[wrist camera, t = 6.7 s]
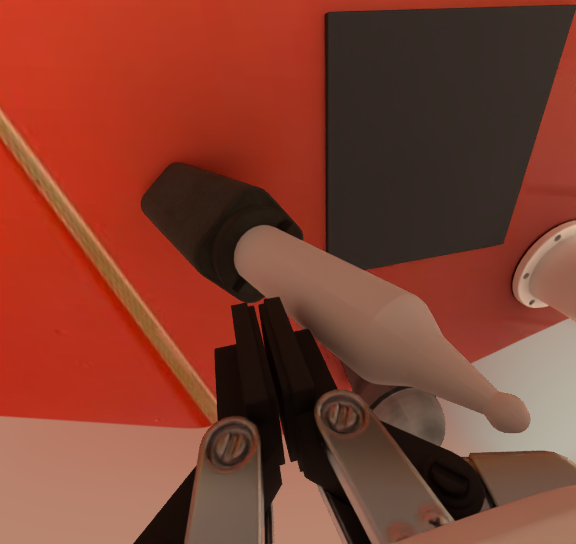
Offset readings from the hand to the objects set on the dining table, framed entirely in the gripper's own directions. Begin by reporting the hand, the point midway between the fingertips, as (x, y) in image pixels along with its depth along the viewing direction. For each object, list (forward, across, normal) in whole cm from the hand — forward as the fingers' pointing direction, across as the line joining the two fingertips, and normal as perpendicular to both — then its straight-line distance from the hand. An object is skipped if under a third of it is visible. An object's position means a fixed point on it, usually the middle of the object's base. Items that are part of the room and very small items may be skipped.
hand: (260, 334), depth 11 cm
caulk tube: (+18, +4, 0) cm, 18 cm away
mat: (+19, -20, -1) cm, 28 cm away
